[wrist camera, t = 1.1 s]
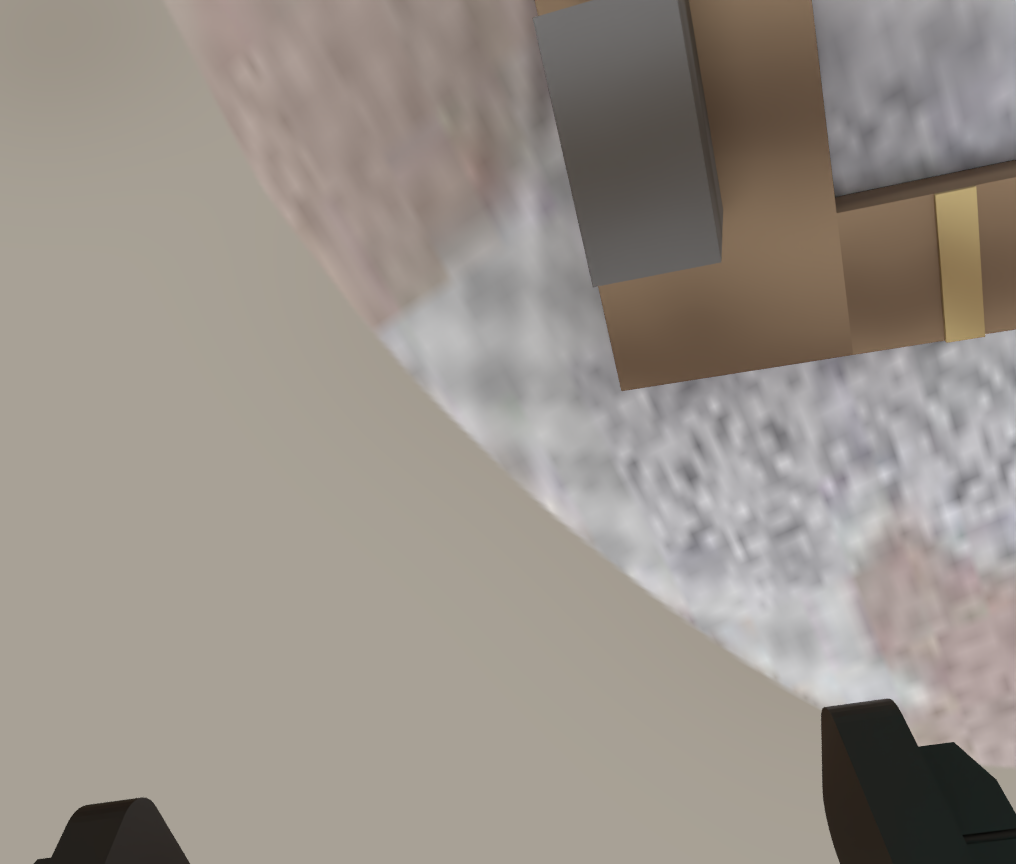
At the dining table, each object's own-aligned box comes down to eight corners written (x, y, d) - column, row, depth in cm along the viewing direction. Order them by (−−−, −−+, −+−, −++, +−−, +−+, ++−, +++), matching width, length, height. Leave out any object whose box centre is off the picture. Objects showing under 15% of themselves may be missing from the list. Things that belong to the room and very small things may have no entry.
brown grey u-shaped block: (512, -168, 25) (423, -240, 18) (1088, -376, 21) (1282, -584, 13) (628, 366, 31) (596, 478, 23) (1095, 289, 26) (1234, 395, 19)
